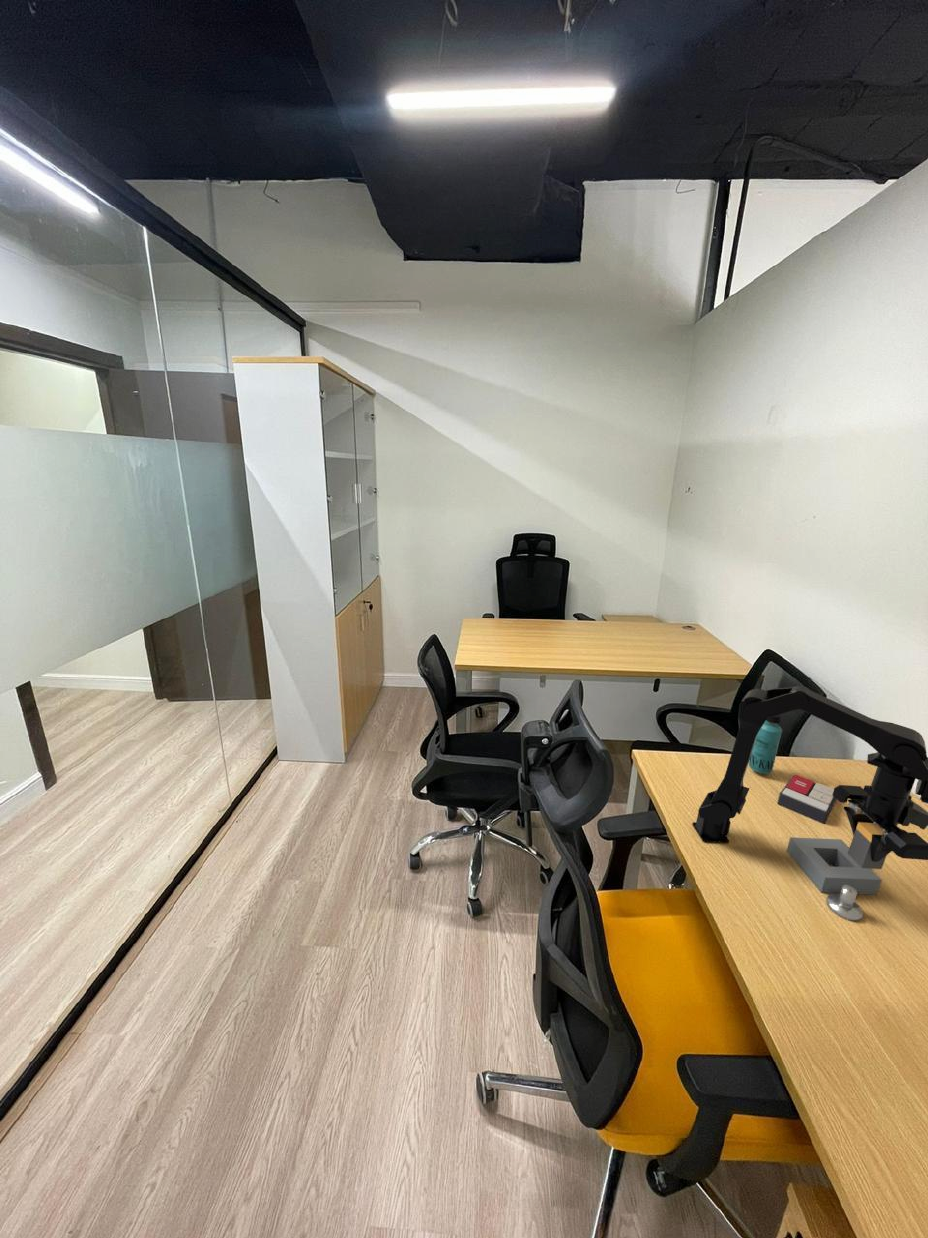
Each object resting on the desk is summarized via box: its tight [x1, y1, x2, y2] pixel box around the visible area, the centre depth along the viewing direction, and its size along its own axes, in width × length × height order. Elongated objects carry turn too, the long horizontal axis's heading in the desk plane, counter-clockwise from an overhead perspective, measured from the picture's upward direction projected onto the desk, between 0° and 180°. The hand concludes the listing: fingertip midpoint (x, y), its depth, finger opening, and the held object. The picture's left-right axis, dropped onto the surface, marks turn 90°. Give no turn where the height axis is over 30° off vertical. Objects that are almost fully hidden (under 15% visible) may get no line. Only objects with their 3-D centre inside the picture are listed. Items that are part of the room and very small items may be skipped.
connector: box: [848, 822, 888, 870], centre depth 100 cm, size 4×4×8 cm
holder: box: [786, 836, 883, 895], centre depth 110 cm, size 12×12×4 cm
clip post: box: [825, 885, 864, 922], centre depth 100 cm, size 6×6×5 cm
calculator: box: [777, 774, 837, 825], centre depth 134 cm, size 11×4×15 cm
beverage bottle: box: [748, 714, 783, 775], centre depth 145 cm, size 6×7×20 cm
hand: (866, 853), depth 100 cm, fingers closed on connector, 4 cm apart
